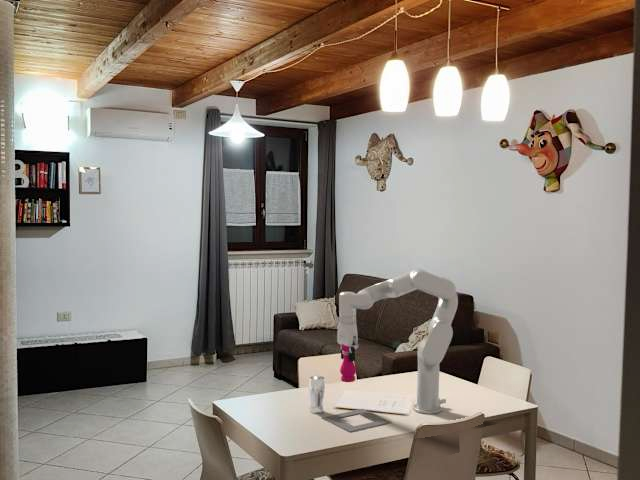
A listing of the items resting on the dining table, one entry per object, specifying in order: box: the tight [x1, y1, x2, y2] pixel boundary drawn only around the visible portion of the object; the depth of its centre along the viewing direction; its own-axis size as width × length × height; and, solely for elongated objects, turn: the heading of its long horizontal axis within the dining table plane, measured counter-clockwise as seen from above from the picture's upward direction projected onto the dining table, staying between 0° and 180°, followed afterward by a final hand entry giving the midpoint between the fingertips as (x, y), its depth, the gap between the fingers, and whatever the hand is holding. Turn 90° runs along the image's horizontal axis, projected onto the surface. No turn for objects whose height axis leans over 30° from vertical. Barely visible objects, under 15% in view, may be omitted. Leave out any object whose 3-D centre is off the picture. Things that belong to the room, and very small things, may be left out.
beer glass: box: [308, 375, 326, 414], centre depth 283 cm, size 7×7×15 cm
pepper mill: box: [339, 344, 357, 383], centre depth 287 cm, size 7×7×20 cm
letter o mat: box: [321, 408, 393, 433], centre depth 272 cm, size 22×20×1 cm
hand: (348, 359), depth 287 cm, fingers closed on pepper mill, 5 cm apart
